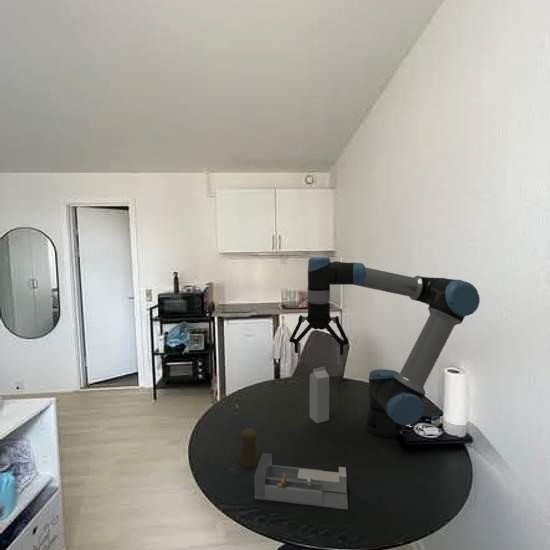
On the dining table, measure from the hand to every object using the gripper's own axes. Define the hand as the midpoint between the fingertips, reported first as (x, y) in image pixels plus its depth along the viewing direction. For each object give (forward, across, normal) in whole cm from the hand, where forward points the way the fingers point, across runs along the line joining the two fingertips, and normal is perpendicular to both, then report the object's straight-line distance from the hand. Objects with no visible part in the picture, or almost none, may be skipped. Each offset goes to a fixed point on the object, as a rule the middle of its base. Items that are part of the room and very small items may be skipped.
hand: (318, 363), depth 119 cm
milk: (+32, +1, -24) cm, 40 cm away
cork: (+32, +23, +10) cm, 40 cm away
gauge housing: (+32, +4, +21) cm, 38 cm away
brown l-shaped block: (+31, +10, +25) cm, 41 cm away
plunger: (+30, -2, +21) cm, 37 cm away
